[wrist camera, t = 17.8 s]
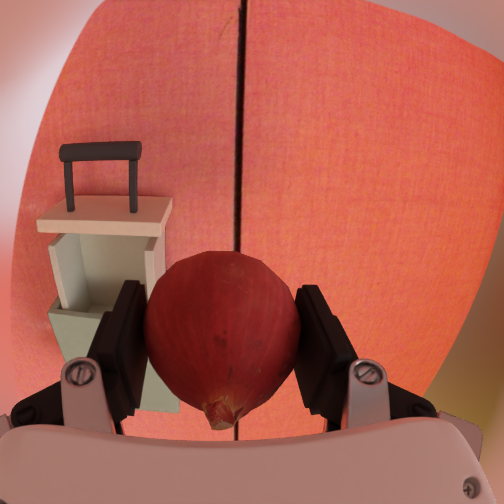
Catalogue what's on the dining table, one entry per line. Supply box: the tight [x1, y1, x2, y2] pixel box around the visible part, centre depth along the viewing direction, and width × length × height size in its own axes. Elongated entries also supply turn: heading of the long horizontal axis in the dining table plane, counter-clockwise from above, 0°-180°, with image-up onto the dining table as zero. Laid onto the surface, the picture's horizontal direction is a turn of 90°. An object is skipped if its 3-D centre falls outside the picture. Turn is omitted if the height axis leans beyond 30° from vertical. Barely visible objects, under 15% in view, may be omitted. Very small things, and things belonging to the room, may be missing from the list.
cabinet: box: [48, 295, 180, 413], centre depth 31 cm, size 15×13×9 cm
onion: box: [143, 251, 302, 430], centre depth 11 cm, size 6×6×8 cm
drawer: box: [36, 141, 172, 314], centre depth 26 cm, size 19×11×7 cm, turn 173°
